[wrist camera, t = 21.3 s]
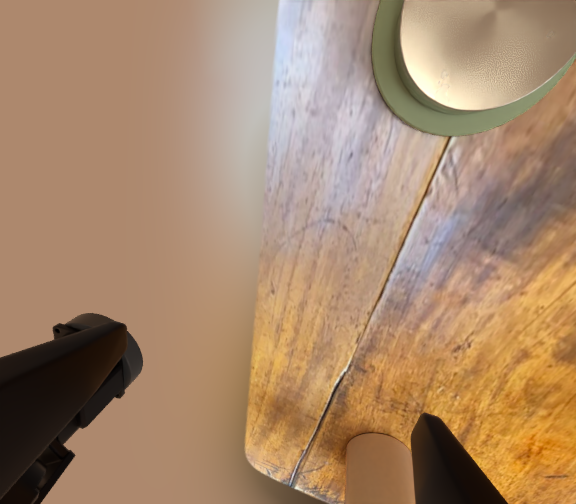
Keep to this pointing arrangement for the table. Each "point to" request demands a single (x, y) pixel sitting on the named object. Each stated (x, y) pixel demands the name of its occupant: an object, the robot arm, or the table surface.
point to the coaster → (421, 115)
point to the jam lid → (481, 50)
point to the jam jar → (378, 471)
